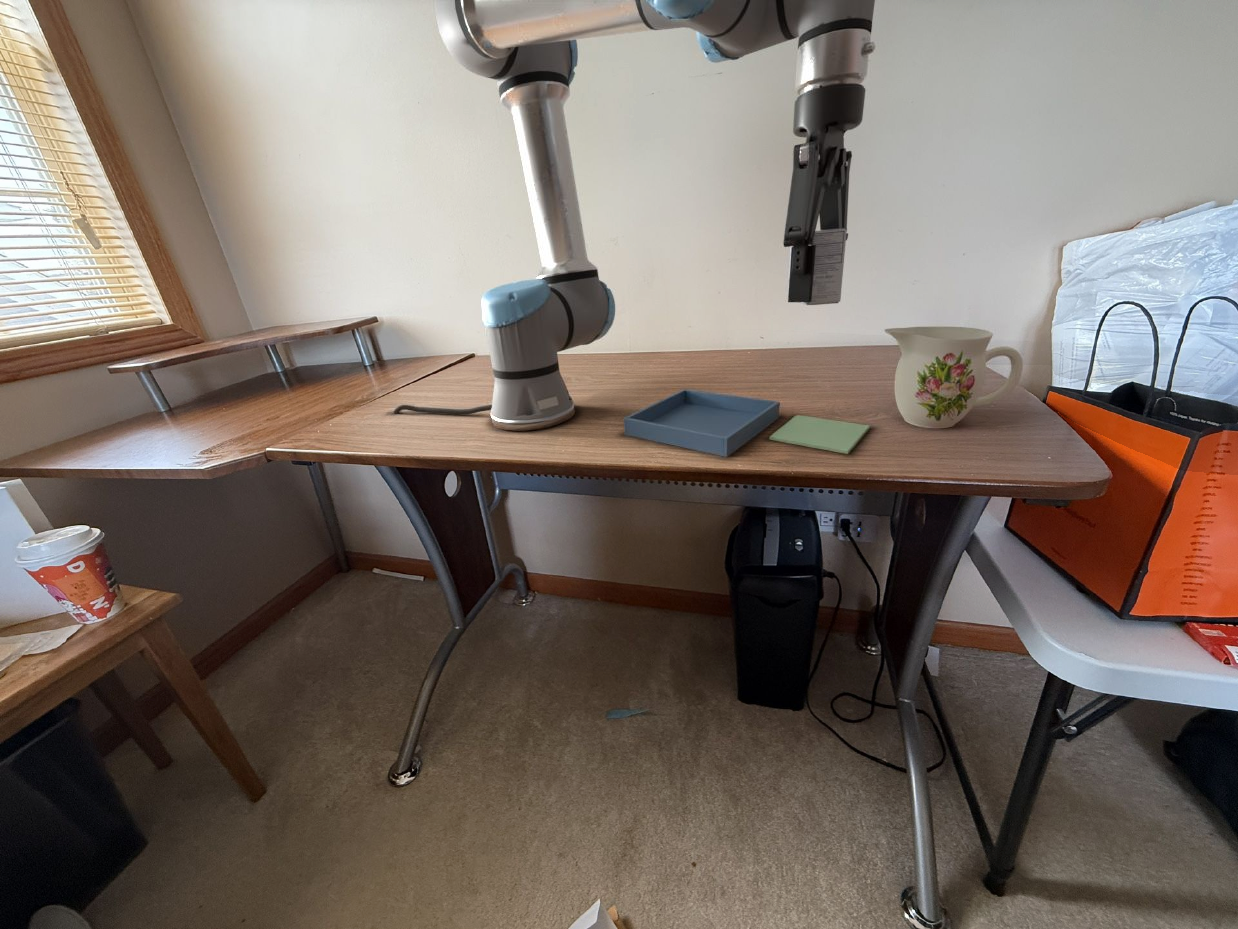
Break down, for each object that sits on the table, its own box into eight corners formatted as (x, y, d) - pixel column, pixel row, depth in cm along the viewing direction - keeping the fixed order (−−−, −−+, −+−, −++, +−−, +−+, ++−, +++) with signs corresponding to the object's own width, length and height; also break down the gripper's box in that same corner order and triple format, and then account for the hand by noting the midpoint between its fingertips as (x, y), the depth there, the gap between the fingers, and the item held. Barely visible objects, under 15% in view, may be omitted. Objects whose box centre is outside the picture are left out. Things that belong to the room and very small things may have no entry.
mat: (769, 439, 71) (769, 436, 70) (796, 417, 78) (796, 414, 78) (847, 454, 64) (848, 450, 64) (869, 428, 72) (869, 425, 71)
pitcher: (1023, 436, 65) (1054, 333, 59) (877, 432, 70) (892, 337, 64) (991, 410, 75) (1015, 319, 69) (864, 408, 80) (877, 323, 74)
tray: (624, 434, 77) (623, 418, 76) (684, 403, 90) (684, 388, 88) (727, 457, 66) (727, 438, 65) (778, 417, 79) (780, 401, 78)
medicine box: (840, 303, 61) (849, 227, 57) (805, 306, 61) (811, 231, 57) (818, 297, 68) (824, 229, 64) (786, 300, 68) (790, 232, 64)
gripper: (833, 60, 45) (812, 308, 54) (888, 97, 60) (864, 287, 69) (758, 82, 50) (751, 308, 59) (826, 111, 64) (812, 288, 74)
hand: (812, 297), depth 64 cm, fingers closed on medicine box, 9 cm apart
